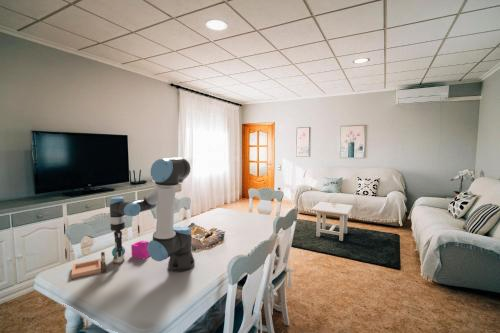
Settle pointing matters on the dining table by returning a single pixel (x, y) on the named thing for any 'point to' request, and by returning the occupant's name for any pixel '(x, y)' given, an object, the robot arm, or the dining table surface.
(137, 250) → the magenta block
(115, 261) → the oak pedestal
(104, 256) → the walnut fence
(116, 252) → the ball
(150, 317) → the dining table surface
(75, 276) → the terracotta dish
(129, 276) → the dining table surface
